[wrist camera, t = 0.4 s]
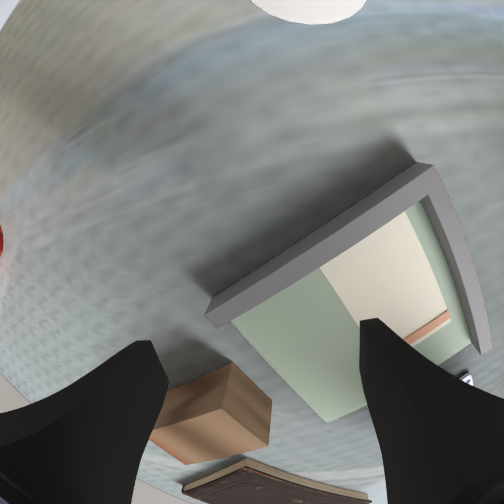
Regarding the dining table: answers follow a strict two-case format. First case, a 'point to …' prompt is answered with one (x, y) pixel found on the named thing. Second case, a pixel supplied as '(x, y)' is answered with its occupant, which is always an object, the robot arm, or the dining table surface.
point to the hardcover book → (266, 487)
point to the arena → (362, 291)
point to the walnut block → (213, 417)
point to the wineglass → (311, 10)
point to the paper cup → (1, 242)
